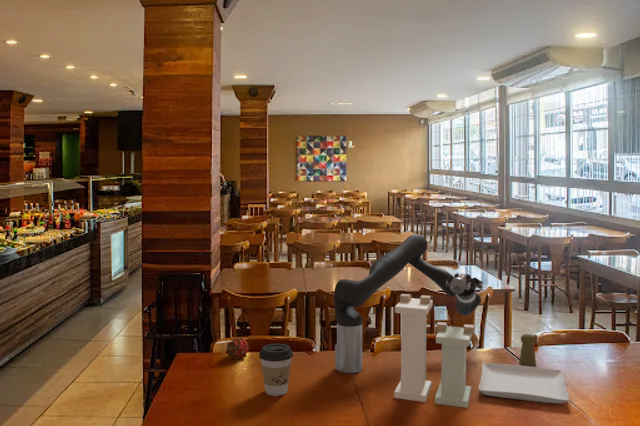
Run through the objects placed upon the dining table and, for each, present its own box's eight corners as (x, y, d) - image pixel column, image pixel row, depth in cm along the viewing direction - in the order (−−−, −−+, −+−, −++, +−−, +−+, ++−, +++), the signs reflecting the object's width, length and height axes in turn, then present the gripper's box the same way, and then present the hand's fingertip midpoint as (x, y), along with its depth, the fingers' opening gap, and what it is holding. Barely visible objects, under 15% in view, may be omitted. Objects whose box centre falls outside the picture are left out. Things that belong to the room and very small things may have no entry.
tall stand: (394, 397, 182) (395, 300, 180) (402, 383, 195) (403, 291, 192) (425, 402, 179) (426, 302, 176) (431, 386, 191) (432, 294, 189)
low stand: (432, 403, 178) (433, 330, 176) (437, 387, 191) (439, 319, 189) (470, 408, 174) (471, 333, 172) (473, 392, 187) (474, 322, 185)
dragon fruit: (231, 367, 215) (239, 361, 227) (249, 354, 214) (256, 349, 226) (219, 348, 216) (227, 343, 227) (237, 336, 215) (244, 331, 227)
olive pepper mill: (537, 366, 210) (538, 337, 209) (520, 365, 212) (521, 336, 211) (534, 361, 216) (535, 332, 215) (517, 360, 217) (518, 332, 216)
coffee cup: (267, 401, 180) (266, 355, 179) (254, 389, 190) (253, 345, 189) (299, 394, 185) (299, 350, 184) (285, 382, 195) (284, 340, 194)
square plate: (562, 379, 199) (562, 368, 198) (569, 411, 173) (569, 399, 172) (482, 370, 207) (482, 360, 207) (477, 399, 182) (478, 388, 181)
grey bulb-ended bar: (465, 294, 185) (465, 279, 185) (449, 294, 187) (449, 279, 187) (470, 282, 205) (470, 268, 204) (456, 281, 206) (456, 268, 206)
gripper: (447, 280, 220) (443, 264, 205) (485, 282, 215) (483, 267, 200) (446, 298, 217) (441, 284, 202) (484, 301, 212) (482, 287, 197)
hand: (462, 276), depth 201 cm, fingers closed on grey bulb-ended bar, 3 cm apart
